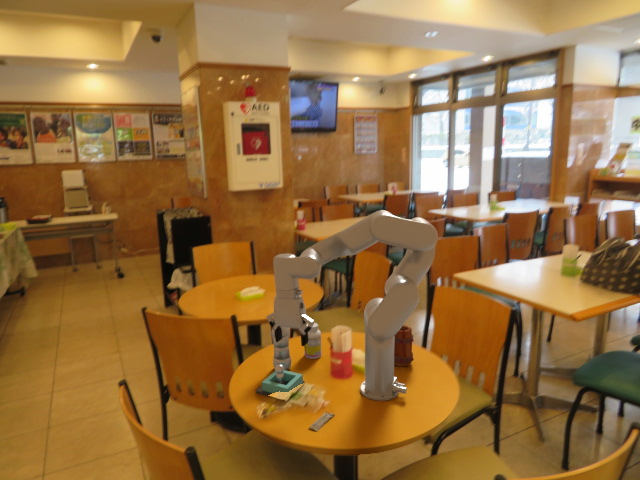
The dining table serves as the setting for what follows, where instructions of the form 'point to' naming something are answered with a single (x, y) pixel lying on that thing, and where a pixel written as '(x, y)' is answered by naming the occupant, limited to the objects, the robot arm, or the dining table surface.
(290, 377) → the teal square frame
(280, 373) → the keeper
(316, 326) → the supplement bottle
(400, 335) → the mug
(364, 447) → the dining table surface
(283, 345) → the plastic bottle
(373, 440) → the dining table surface
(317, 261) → the robot arm
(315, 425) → the snack bar
